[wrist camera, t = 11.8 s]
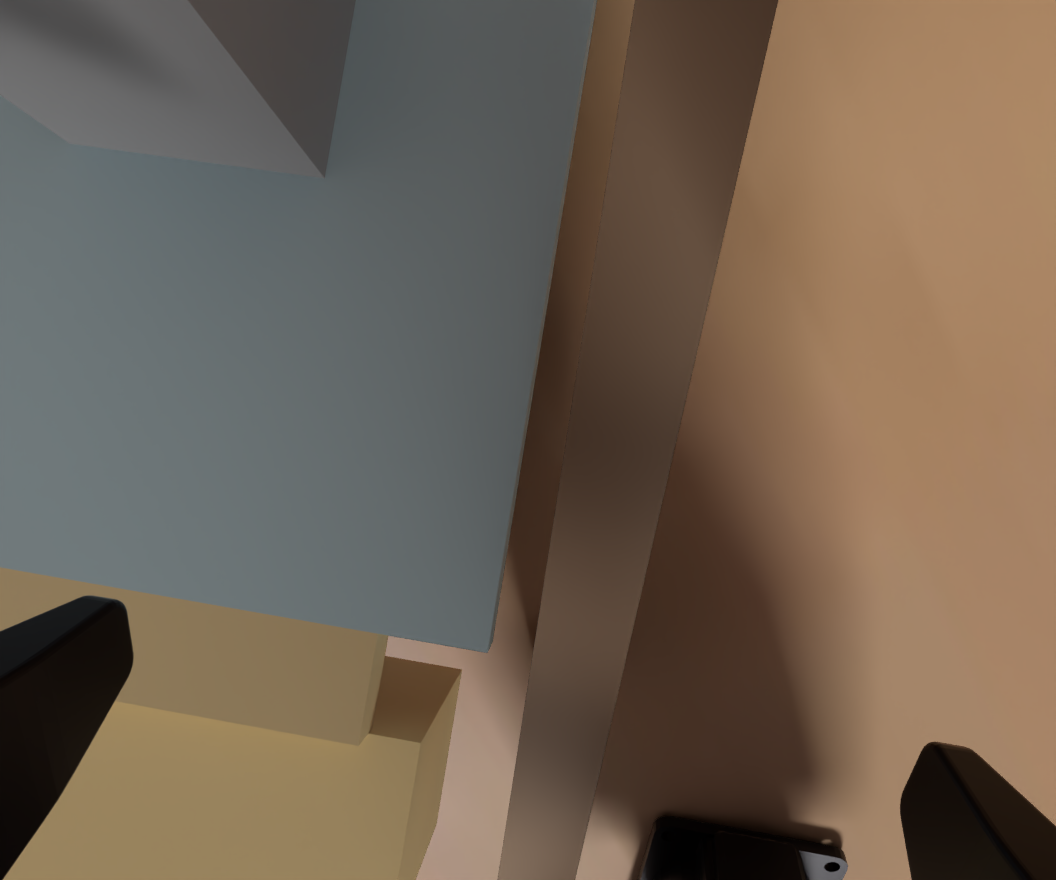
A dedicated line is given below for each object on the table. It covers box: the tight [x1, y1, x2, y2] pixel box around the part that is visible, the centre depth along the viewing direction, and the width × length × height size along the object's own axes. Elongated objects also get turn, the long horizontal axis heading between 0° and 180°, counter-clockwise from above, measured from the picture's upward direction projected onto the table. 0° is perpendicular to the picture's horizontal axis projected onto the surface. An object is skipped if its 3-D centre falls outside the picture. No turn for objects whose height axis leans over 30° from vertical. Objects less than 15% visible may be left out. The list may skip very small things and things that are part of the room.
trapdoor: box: [0, 0, 597, 880], centre depth 17 cm, size 20×14×6 cm
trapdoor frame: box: [498, 0, 778, 880], centre depth 16 cm, size 22×19×8 cm
